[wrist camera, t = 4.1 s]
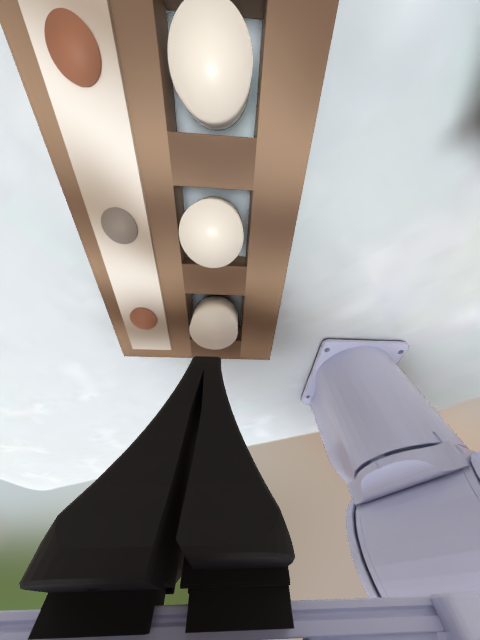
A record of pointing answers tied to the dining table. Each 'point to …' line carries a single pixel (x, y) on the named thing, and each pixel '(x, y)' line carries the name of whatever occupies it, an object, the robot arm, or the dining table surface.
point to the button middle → (211, 232)
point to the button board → (169, 157)
